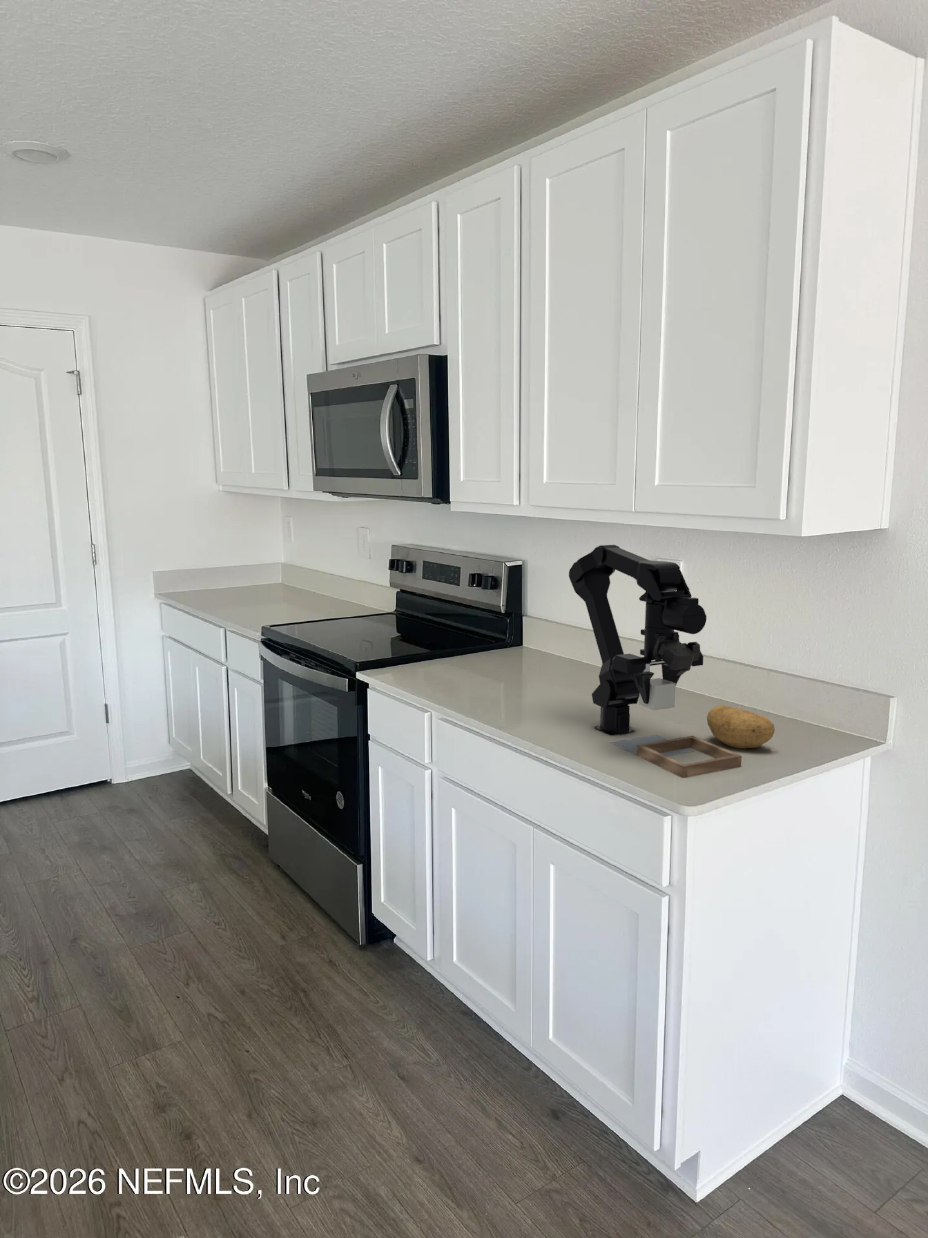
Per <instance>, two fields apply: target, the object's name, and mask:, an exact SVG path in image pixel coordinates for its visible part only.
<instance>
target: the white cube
mask: <svg viewBox="0 0 928 1238" xmlns="http://www.w3.org/2000/svg"><path fill="white" fill-rule="evenodd" d="M675 685H676V686H677V684H676V683H673V682H670V681H667V680H664V679H663V677H656V678H651V679H650V696H649V703H648V704H645V703H644V702H643V700H642V697H641V695H640V693H639V699H638V705H640V706H642V707H644V708H647V709H649V710H652V711H659V710H660V711H661V710H667V709H674V708H675V706H676V705H675V704H676V687H675Z"/></svg>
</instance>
